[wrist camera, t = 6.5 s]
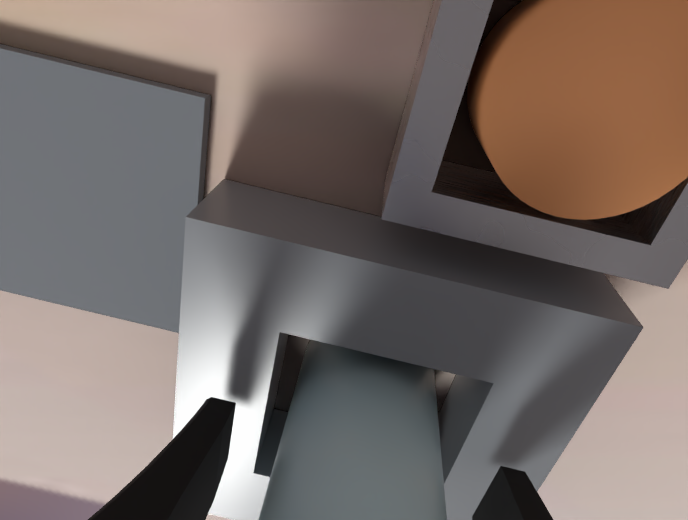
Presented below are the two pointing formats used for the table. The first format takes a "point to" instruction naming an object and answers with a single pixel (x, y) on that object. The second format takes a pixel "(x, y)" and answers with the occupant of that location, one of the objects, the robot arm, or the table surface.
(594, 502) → the table surface
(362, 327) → the socket block
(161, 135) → the slate mat
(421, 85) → the button housing
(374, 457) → the cylinder
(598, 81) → the release button
